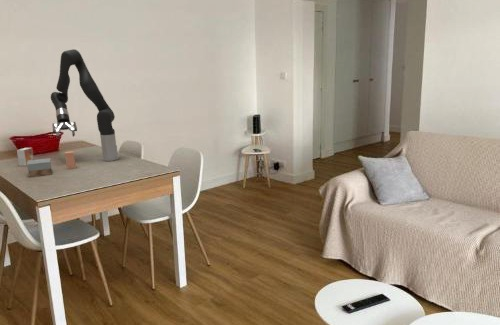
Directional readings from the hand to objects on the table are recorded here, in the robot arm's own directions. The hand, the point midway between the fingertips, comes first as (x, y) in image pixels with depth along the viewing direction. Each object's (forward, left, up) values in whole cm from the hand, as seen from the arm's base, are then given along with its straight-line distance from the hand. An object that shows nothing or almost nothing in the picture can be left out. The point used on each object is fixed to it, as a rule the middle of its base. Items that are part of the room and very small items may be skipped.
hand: (66, 136), depth 268 cm
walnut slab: (+17, +17, -19) cm, 30 cm away
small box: (+25, -16, -18) cm, 35 cm away
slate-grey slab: (+17, +17, -15) cm, 28 cm away
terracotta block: (0, +12, -18) cm, 21 cm away
